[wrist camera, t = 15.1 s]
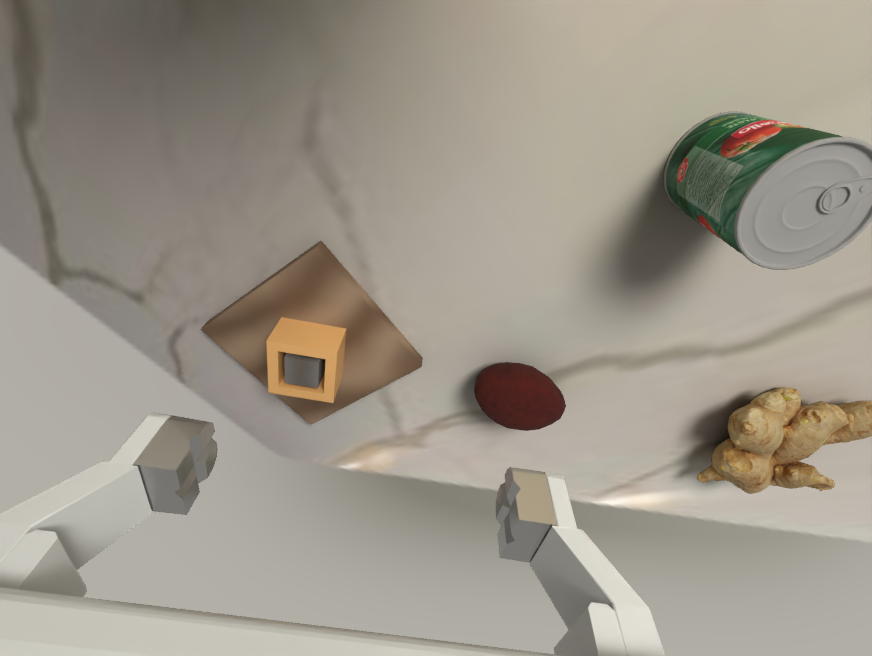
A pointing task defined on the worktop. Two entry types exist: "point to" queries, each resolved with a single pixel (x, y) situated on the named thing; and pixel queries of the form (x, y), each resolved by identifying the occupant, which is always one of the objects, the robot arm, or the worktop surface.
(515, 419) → the potato
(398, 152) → the worktop surface
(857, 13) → the worktop surface
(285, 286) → the base plate
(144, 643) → the robot arm
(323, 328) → the orange square tube
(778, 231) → the canned tomato
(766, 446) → the ginger root
